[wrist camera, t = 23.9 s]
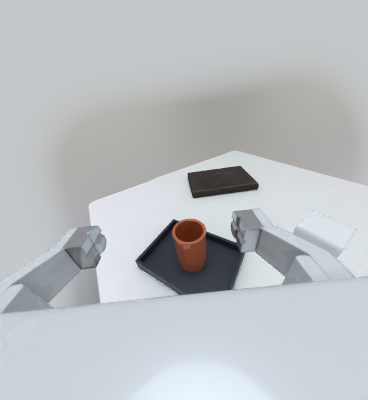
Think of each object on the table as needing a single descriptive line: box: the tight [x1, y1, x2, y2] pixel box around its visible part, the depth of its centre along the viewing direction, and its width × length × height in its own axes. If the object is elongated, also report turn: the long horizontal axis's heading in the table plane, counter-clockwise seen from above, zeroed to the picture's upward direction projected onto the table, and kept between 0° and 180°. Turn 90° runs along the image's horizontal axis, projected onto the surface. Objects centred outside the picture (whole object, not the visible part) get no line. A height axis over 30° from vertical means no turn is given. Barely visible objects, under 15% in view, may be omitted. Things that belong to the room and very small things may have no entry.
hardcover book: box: [188, 166, 259, 198], centre depth 58 cm, size 16×23×2 cm
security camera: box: [293, 211, 357, 258], centre depth 28 cm, size 6×7×10 cm
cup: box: [172, 219, 207, 272], centre depth 30 cm, size 6×6×9 cm
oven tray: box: [136, 219, 245, 295], centre depth 32 cm, size 19×14×2 cm
